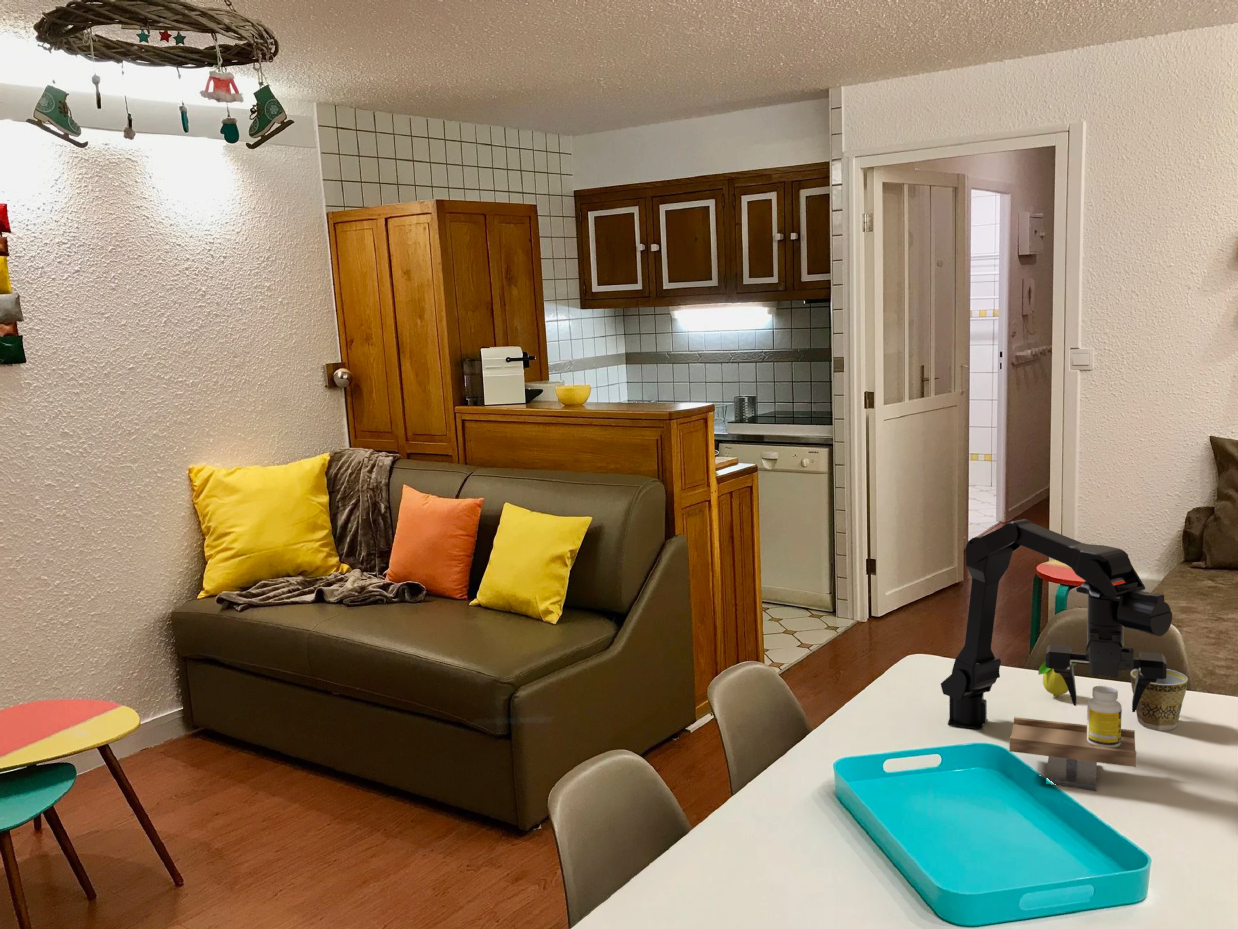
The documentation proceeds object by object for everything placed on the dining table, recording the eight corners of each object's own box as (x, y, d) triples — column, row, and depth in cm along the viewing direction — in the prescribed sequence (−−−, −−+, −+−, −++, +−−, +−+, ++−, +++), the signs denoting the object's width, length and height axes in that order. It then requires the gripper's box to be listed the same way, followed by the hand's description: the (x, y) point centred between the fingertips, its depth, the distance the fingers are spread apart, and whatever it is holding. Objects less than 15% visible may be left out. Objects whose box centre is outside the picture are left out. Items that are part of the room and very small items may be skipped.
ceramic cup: (1196, 733, 197) (1198, 683, 195) (1144, 735, 197) (1145, 685, 195) (1162, 708, 209) (1163, 661, 208) (1113, 709, 210) (1114, 663, 208)
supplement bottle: (1124, 750, 176) (1125, 695, 175) (1090, 748, 177) (1091, 694, 176) (1116, 737, 181) (1117, 684, 180) (1083, 736, 183) (1084, 683, 181)
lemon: (1076, 694, 219) (1076, 649, 217) (1071, 703, 214) (1072, 657, 212) (1042, 689, 222) (1043, 645, 221) (1037, 698, 217) (1038, 653, 216)
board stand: (1045, 784, 179) (1045, 759, 179) (1048, 758, 189) (1049, 735, 188) (1095, 791, 176) (1096, 766, 175) (1096, 764, 186) (1097, 741, 185)
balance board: (1009, 751, 182) (1009, 738, 181) (1014, 729, 190) (1014, 717, 190) (1135, 767, 173) (1135, 753, 173) (1134, 743, 182) (1134, 730, 182)
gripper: (1044, 630, 173) (1043, 718, 175) (1169, 640, 165) (1166, 732, 167) (1047, 612, 183) (1046, 696, 185) (1165, 621, 175) (1163, 708, 177)
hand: (1103, 708), depth 178 cm, fingers open, 9 cm apart
